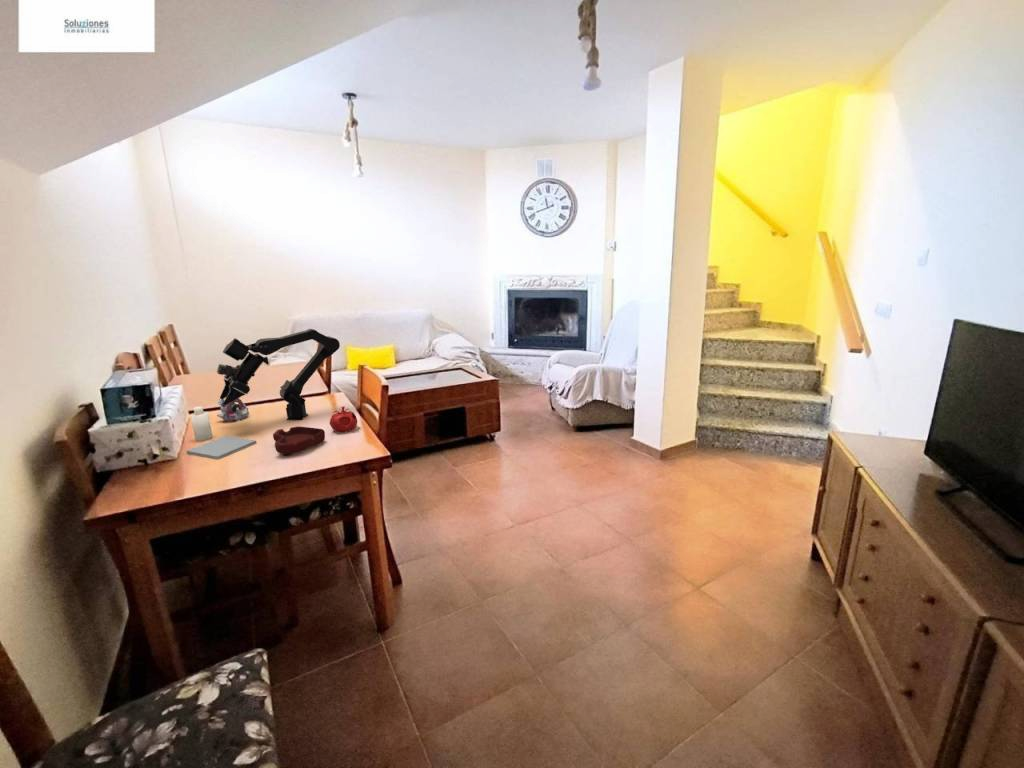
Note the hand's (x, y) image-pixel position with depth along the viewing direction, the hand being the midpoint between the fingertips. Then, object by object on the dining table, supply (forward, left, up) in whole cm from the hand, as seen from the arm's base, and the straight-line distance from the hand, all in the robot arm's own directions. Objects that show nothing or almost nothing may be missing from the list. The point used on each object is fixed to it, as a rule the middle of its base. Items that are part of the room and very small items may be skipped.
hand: (222, 401), depth 176 cm
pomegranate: (-45, -1, -12) cm, 46 cm away
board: (-8, +16, -12) cm, 22 cm away
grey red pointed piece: (+7, -16, -13) cm, 21 cm away
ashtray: (-35, +15, -13) cm, 40 cm away
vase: (+5, +6, -12) cm, 15 cm away
